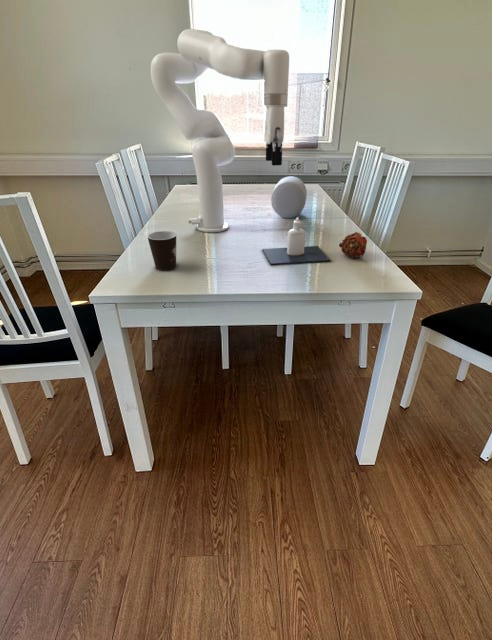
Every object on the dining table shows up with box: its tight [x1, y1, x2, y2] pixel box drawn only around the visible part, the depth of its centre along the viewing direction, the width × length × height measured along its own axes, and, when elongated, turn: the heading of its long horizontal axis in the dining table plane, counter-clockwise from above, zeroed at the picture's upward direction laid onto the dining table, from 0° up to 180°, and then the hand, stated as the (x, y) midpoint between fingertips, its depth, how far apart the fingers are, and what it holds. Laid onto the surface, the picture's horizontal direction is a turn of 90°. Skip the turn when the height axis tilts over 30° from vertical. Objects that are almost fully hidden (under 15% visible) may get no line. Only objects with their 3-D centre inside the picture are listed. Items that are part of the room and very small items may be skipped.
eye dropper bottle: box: [286, 216, 306, 256], centre depth 129 cm, size 4×6×12 cm
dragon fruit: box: [338, 231, 368, 260], centre depth 131 cm, size 8×8×12 cm
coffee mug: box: [146, 230, 177, 272], centre depth 122 cm, size 12×9×10 cm
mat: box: [262, 245, 331, 266], centre depth 133 cm, size 20×14×1 cm
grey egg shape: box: [268, 175, 308, 219], centre depth 175 cm, size 19×15×25 cm
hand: (273, 162), depth 130 cm, fingers open, 9 cm apart
